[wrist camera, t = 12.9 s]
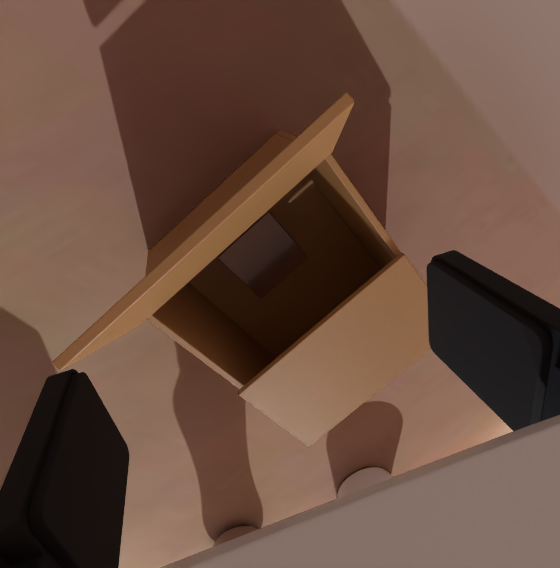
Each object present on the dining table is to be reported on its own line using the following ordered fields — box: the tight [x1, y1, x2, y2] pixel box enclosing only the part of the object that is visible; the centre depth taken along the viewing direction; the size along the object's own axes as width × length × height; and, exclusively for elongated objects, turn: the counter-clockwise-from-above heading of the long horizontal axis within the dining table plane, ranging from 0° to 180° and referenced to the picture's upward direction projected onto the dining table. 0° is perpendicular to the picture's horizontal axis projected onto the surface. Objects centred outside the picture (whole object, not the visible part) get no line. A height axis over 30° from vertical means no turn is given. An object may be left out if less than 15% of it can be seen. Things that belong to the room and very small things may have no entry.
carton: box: [145, 130, 431, 447], centre depth 28 cm, size 15×13×10 cm
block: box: [217, 210, 309, 299], centre depth 28 cm, size 4×4×4 cm
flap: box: [52, 92, 354, 371], centre depth 16 cm, size 7×13×1 cm
